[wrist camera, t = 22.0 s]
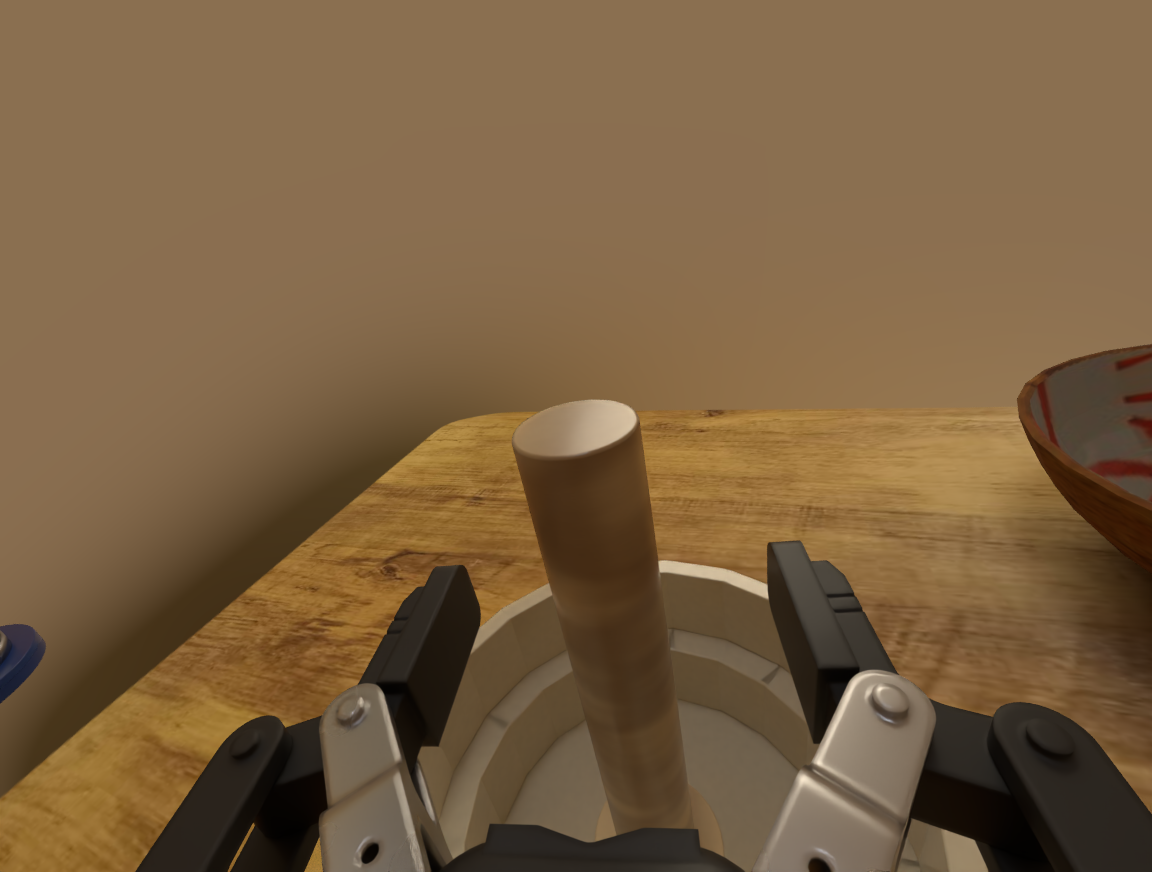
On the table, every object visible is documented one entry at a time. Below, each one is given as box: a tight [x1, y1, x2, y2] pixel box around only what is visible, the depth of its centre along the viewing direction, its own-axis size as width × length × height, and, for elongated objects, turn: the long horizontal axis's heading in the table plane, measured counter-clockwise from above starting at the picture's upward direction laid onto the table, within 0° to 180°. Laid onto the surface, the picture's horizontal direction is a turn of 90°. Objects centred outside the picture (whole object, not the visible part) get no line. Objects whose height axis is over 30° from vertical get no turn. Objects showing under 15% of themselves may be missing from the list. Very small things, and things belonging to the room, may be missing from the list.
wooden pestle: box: [512, 400, 725, 857], centre depth 14 cm, size 4×4×18 cm
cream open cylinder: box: [418, 560, 989, 872], centre depth 16 cm, size 17×17×8 cm
